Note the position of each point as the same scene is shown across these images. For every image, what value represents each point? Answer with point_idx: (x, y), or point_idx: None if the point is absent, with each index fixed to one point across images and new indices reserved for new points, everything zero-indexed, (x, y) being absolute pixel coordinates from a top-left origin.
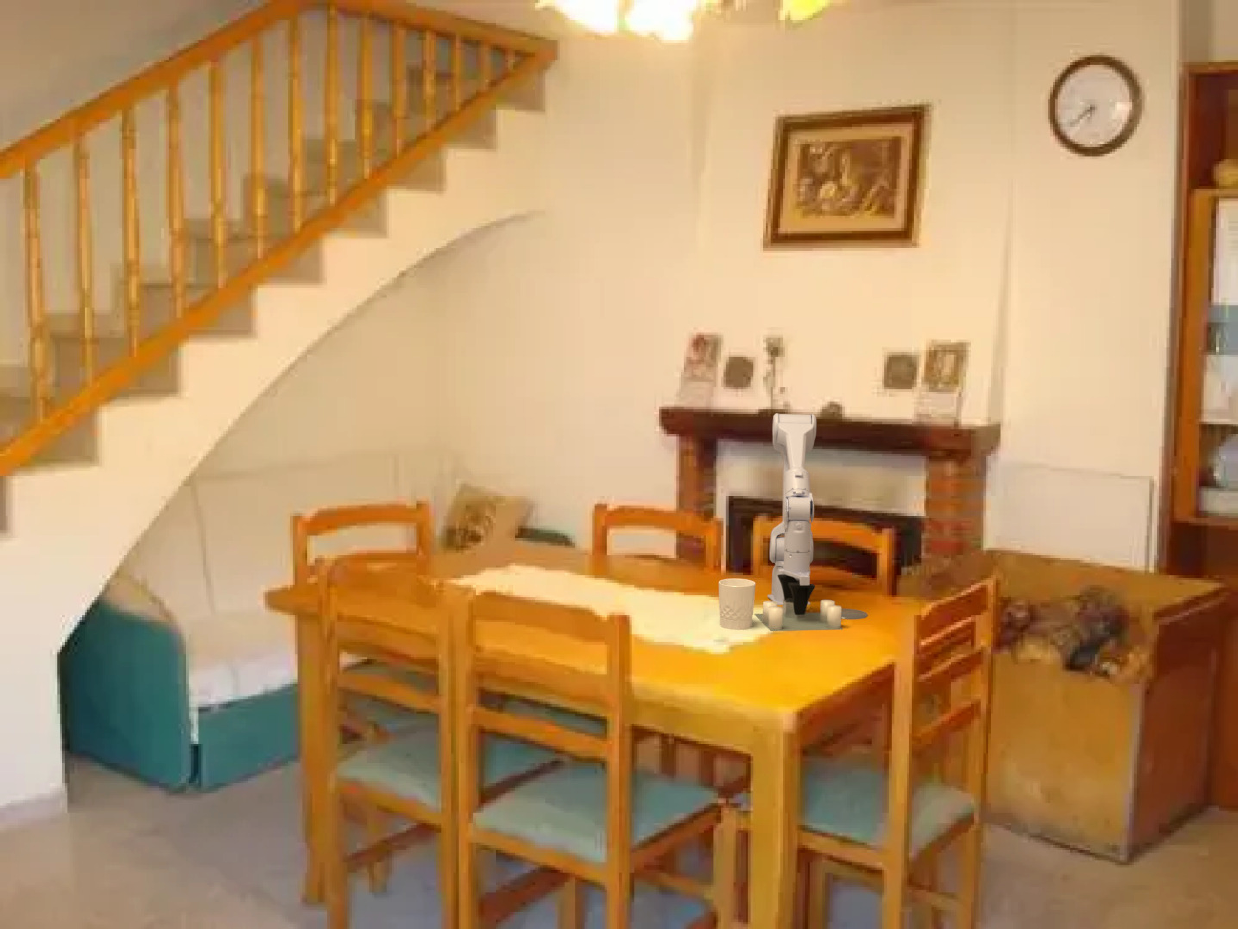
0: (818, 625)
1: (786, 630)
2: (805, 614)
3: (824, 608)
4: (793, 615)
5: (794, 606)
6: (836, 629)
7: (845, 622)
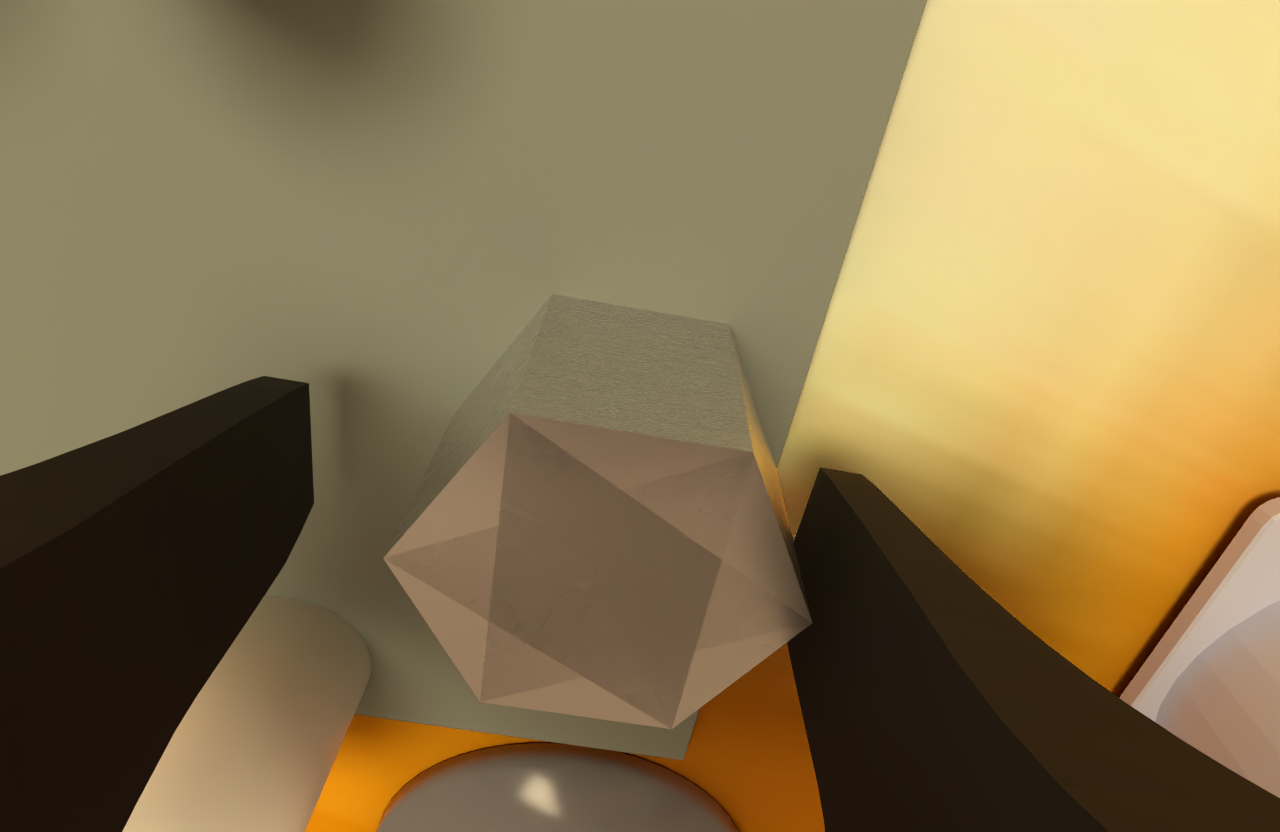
0: None
1: None
2: None
3: None
4: (474, 398)
5: (154, 420)
6: None
7: (334, 778)
